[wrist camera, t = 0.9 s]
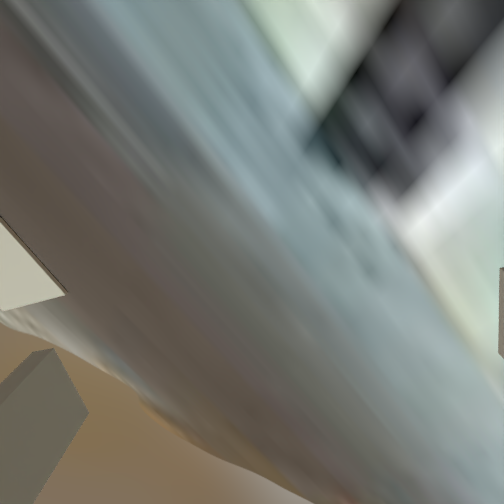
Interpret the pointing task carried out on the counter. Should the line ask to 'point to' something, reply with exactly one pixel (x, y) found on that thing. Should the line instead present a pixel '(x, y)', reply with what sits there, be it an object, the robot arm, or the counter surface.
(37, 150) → the counter surface
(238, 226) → the counter surface
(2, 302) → the mat
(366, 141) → the counter surface
